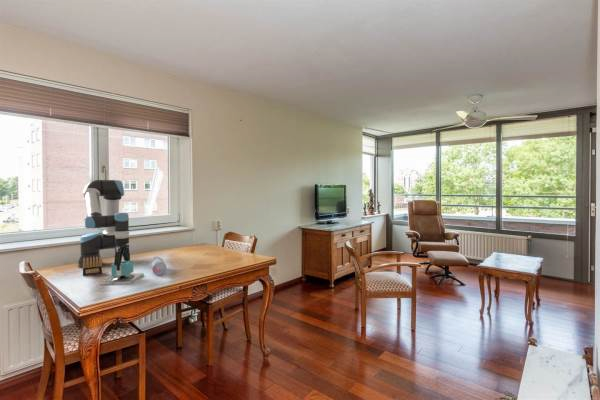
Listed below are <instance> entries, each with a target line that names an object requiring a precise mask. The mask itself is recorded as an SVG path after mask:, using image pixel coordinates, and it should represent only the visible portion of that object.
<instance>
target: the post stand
mask: <svg viewBox="0 0 600 400" xmlns="http://www.w3.org/2000/svg"><path fill="white" fill-rule="evenodd" d="M121 264H124V263H121ZM143 276H144V272H136V273H135V272H134V273H133V272H132V273H130V274H129V275H127V276H112V275H110V276H108V277H107V278H104V279H103V280H101V281H100V282H99V285H100V286H106V285H108V286H109V285H112V286H113V285H132V284H134V283H135V282H136V281H137V280H139V279H141V278H142V277H143Z"/></svg>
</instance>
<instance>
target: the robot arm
mask: <svg viewBox="0 0 600 400" xmlns="http://www.w3.org/2000/svg"><path fill="white" fill-rule="evenodd" d="M82 193H83V197H84V198H85V204H86V211H87V216H85V217H84V228H85V229H101V228H104V230H103V231H102V233H99V232H90V233H86V234H83V235H81V236H80V238H79V239H80V241H79V243H80V257H79V259H78V262H77V267H78V268H83V259H84V258H85V262H86V260H87V257H88V259H89V263H90V257H91V258H92V267H93V257H95V263H96V257H98V262H99V257H100V256H101V254H100V252H101V251H104V250H112V249H113V250H114V265H116V275H117V276H121V275H122V265H121V261H131V255H130V253H131V252H130V244H129V243H130V237H129V236H130V231H129V229H130V228H129V220H130V218H129V212H120V201H121V199H122V197H123V196H125V188H124V184H123V182H122V180H117V179H95V180H92V181H90V182H88V183H87V184H86V185H85V187H84V188H83V191H82ZM100 197H102V199H103V200H105V214H104V215H103V212H102V206H101V201H100V200H101V199H100ZM101 261H102V265H103V263H104V262H103V259H102V257H101Z"/></svg>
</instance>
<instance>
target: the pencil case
mask: <svg viewBox="0 0 600 400" xmlns="http://www.w3.org/2000/svg"><path fill="white" fill-rule="evenodd" d="M149 266H150V268H151V270H152V274H154V275H156V276H162V275H163V274H164V273H166V271H167V265H166V263H164V259H163V258H161V257H160V256H154V257H152V258H151V260H150V262H149Z"/></svg>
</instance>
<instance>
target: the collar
mask: <svg viewBox="0 0 600 400" xmlns="http://www.w3.org/2000/svg"><path fill="white" fill-rule="evenodd" d="M121 263H124V264H121V265H122V275H121V276H127V275H129V274H130V273H133V272H134V260H130V261H124V260H121ZM110 267H111V268H110V269H111V270H110V271H111V276H117V275H116V265H114V263H111V265H110Z"/></svg>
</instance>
